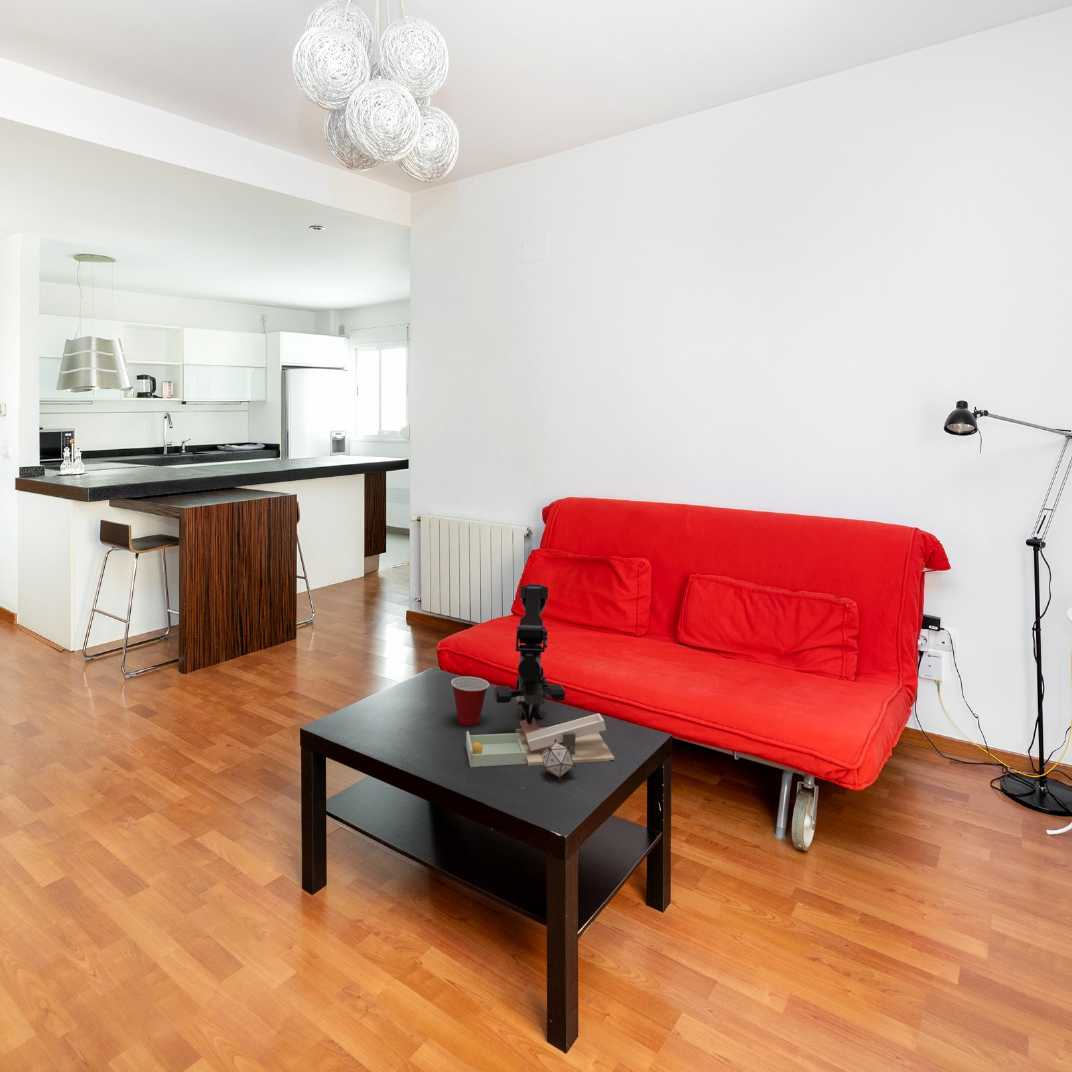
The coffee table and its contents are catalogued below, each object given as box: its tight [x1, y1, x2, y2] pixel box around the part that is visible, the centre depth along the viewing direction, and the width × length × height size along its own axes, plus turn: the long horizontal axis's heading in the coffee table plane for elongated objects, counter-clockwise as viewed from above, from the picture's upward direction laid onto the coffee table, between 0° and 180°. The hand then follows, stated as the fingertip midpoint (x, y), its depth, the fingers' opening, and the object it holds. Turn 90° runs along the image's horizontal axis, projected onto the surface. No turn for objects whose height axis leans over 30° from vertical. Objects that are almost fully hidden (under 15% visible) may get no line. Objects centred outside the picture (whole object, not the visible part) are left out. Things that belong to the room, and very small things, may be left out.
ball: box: [472, 742, 483, 754], centre depth 184 cm, size 3×3×3 cm
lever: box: [519, 713, 607, 751], centre depth 193 cm, size 17×20×3 cm
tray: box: [465, 730, 528, 768], centre depth 185 cm, size 12×14×4 cm
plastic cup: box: [450, 676, 490, 727], centre depth 205 cm, size 11×11×12 cm
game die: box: [539, 739, 578, 782], centre depth 174 cm, size 9×8×10 cm
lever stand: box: [515, 722, 615, 766], centre depth 191 cm, size 21×22×6 cm
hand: (529, 723), depth 198 cm, fingers closed
